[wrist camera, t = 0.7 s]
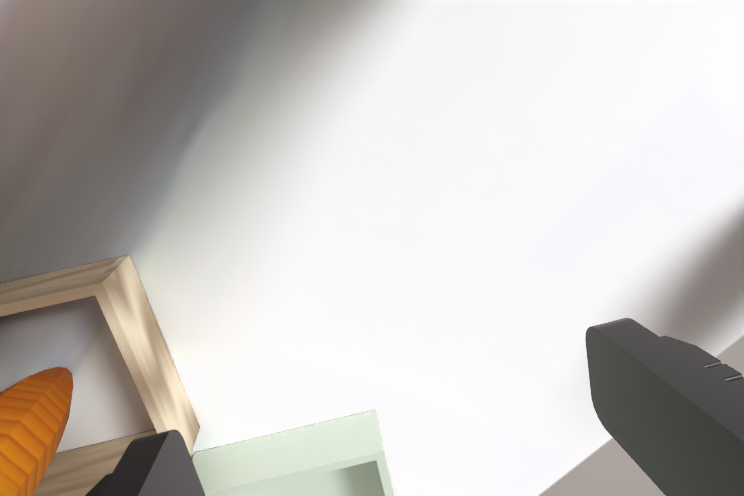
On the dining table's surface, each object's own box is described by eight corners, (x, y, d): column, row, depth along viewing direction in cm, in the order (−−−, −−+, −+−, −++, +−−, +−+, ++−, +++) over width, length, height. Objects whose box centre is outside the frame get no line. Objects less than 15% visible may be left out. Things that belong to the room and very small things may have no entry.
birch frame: (-95, 303, 28) (-157, 340, 24) (129, 254, 28) (102, 282, 25) (9, 471, 33) (-30, 523, 29) (199, 426, 33) (185, 472, 29)
